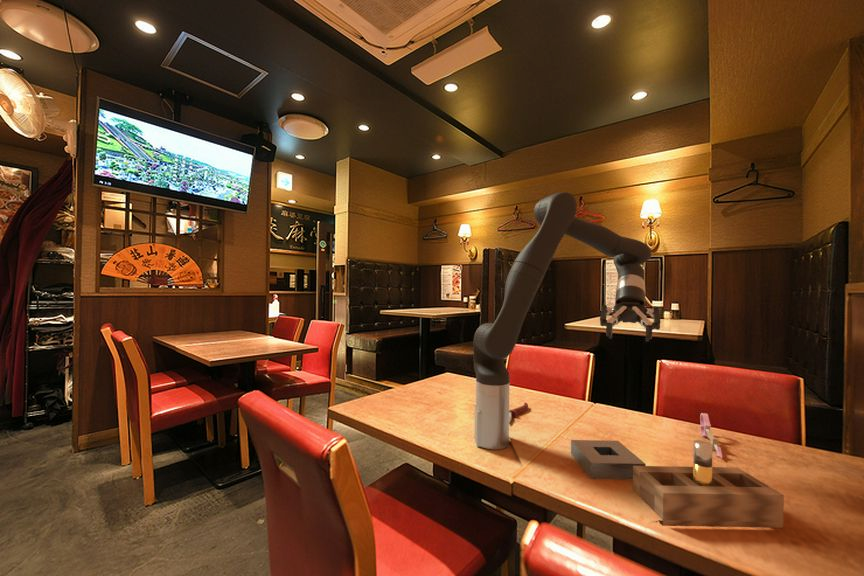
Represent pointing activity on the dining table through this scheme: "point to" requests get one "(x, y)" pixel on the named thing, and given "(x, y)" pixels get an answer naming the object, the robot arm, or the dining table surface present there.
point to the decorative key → (709, 433)
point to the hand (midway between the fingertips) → (628, 338)
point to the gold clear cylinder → (702, 463)
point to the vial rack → (708, 497)
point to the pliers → (518, 411)
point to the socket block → (605, 459)
